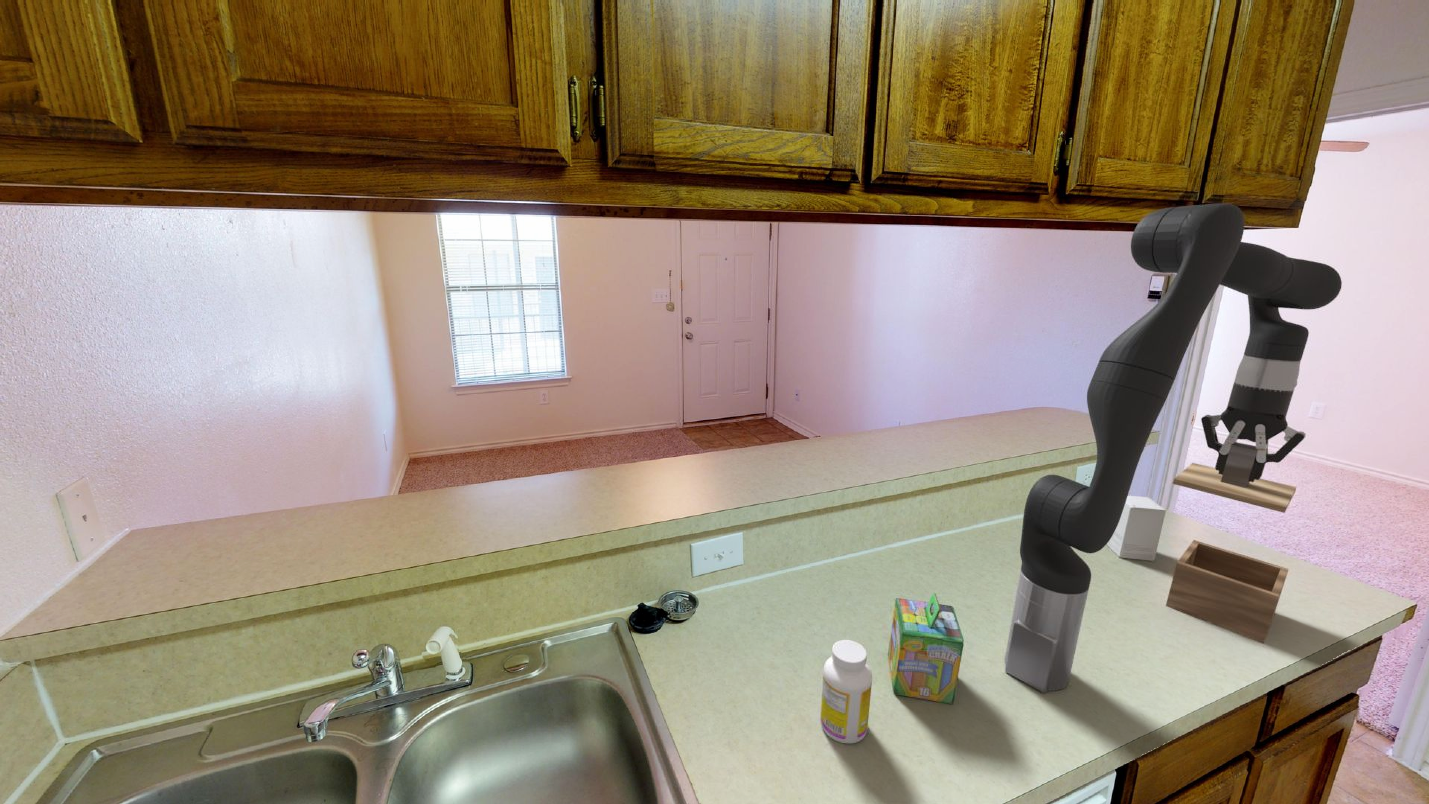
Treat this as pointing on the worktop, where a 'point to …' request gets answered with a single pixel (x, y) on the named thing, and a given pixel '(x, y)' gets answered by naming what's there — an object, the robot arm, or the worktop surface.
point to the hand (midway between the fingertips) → (1236, 476)
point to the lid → (1237, 481)
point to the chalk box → (925, 650)
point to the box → (1227, 589)
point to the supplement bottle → (846, 693)
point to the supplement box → (1138, 529)
